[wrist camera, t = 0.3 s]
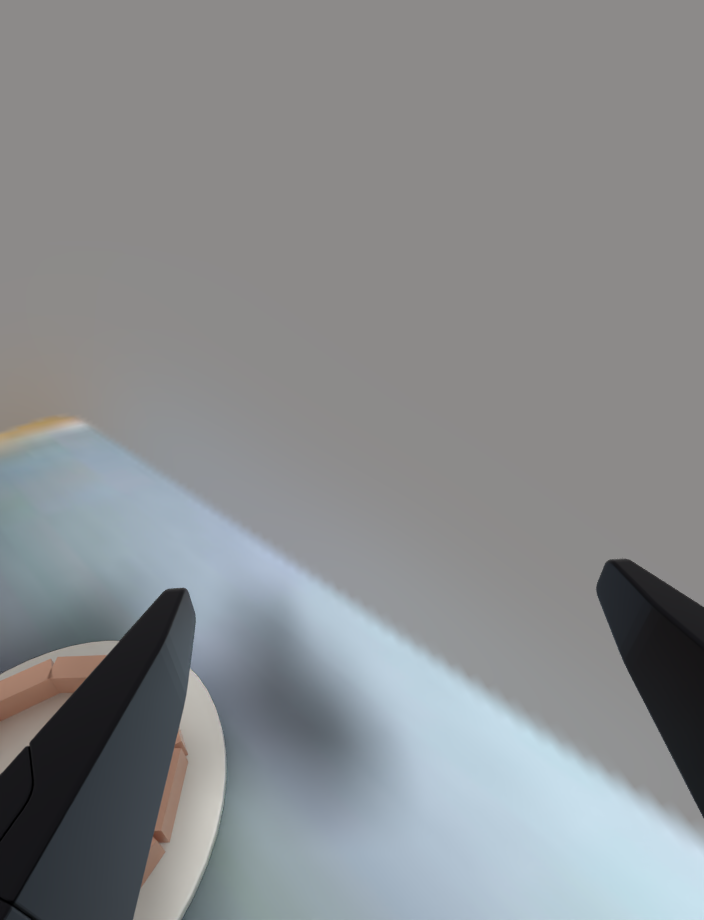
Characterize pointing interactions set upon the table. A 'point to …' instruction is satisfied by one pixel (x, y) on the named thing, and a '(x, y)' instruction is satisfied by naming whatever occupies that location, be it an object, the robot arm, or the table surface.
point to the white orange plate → (188, 782)
